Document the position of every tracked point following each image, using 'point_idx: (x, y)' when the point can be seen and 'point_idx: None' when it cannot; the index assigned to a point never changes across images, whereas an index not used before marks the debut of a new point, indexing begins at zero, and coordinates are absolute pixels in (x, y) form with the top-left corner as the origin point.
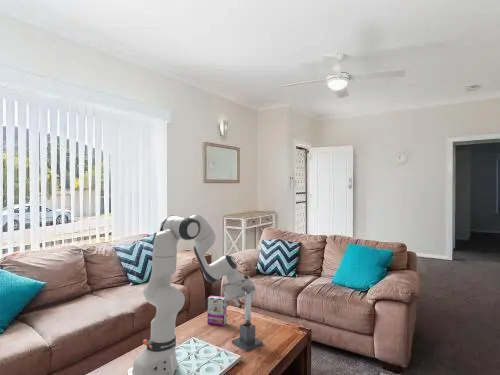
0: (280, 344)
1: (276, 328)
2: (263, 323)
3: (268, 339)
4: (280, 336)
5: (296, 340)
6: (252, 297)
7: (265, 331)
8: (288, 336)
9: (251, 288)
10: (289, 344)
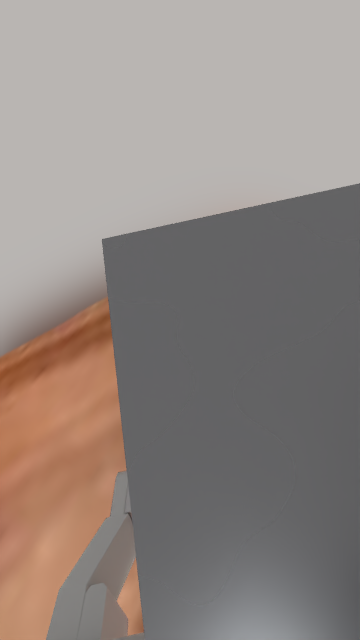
0: (99, 345)
1: (6, 494)
2: (13, 606)
3: (112, 405)
4: (52, 405)
5: (27, 345)
6: (113, 520)
7: (73, 491)
8: (25, 389)
9: (270, 216)
10: (71, 331)
